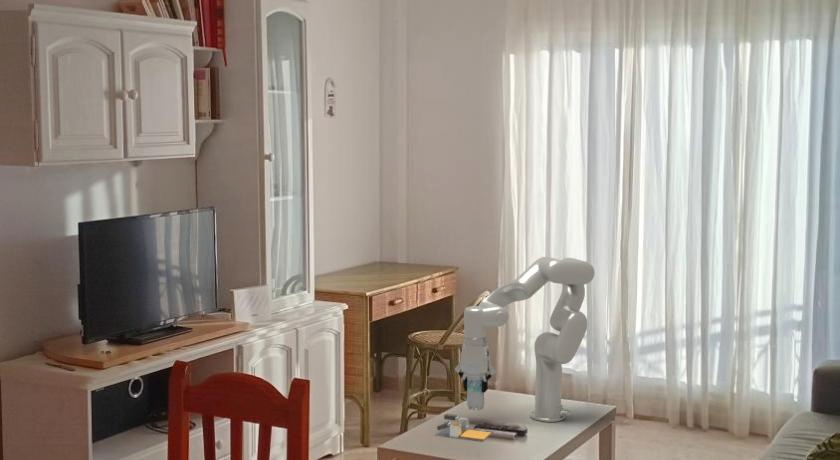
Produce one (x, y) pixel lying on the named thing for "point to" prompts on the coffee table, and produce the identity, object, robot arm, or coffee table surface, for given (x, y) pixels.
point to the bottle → (474, 388)
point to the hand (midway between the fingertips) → (475, 390)
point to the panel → (447, 434)
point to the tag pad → (475, 434)
